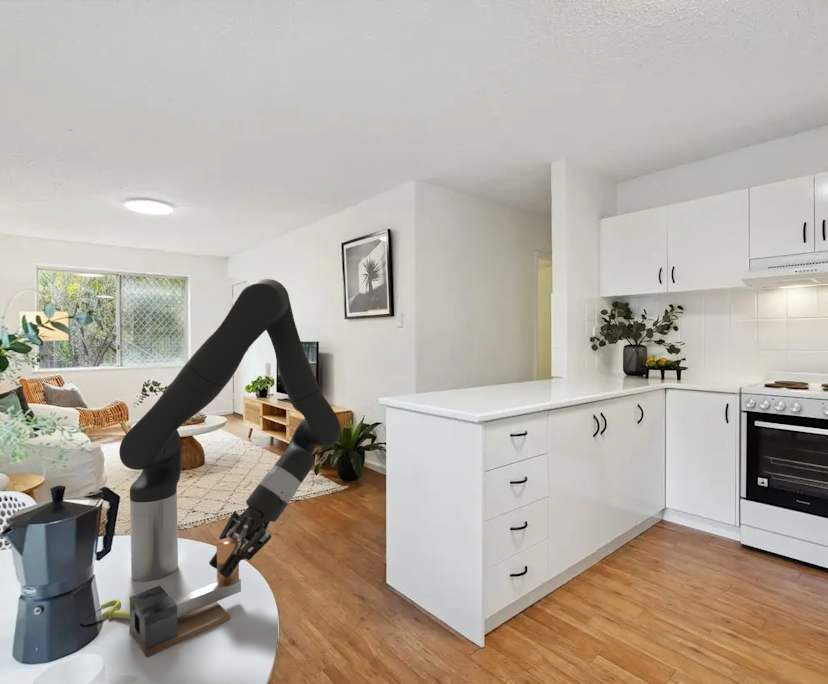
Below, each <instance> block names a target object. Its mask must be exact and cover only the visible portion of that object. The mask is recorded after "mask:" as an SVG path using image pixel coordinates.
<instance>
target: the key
mask: <svg viewBox="0 0 828 684" xmlns="http://www.w3.org/2000/svg"><path fill="white" fill-rule="evenodd" d="M114 604H115V605H114ZM100 605H101V608H102V609H105V608H107V607H109V606H111V607H110V608H108V609H107V610H105V611H103V612H101V614H102V618H103V620H102V621H104V620H105V619H108V618H109V619H110V620H112V619H114V618H116V619H117V618H118V619H127V620H130V610H120V608H121V607H122V602H121V599H119V598H115V599H112V600H109V601H106V602H104V603H102V604H100ZM109 619H108V620H109Z"/></svg>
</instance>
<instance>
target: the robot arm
mask: <svg viewBox="0 0 828 684" xmlns="http://www.w3.org/2000/svg"><path fill="white" fill-rule="evenodd" d="M289 296H290V295H289V292H288V290H287V289H286V287H285V286H284V285H283V284H282V283H280V282H279V281H278V280H274V279H271V278H264V279H259V280H257V281H254V282H251V283H249V284H248V285H246V286H245V287H244V288H243V289H242V290H241V292H240V293H239V295H238V297H237V298H236V300H235V301H234V304H233V305H232V306H231V309H230V310H229V311H228V313H227V315H226V316H225V318H224V320H223V321H222V322H221V324H220V325H219V326H218V328H216V330H215V331H214V332H213V333H212V334H211V335H210V336H209V337H208V338H207V339H206V340H205V341H204V342H203V343H202V344H201V346H200V347H199V348H198V349H197V351H196V352H195V353H194V354H192V356H190V359H188V360H187V362H186V363H185V365H184V366H183V367H182V368H181V369H180V371H179V373H177V375H176V376H175V378H174V379H173V380H172V382H171V383H169V385H168V387H167V388H166V389H165V390H164V392H163V393H162V394H161V395H160V396H159V398H158V400H157V401H156V402H155V403H154V404H153V405H152V407H151V408H150V409H149V410H148V411H147V412H146V413H145V414H144V415H143V416H142V417H141V418H140V419H139V421H137V422H136V423H135V424H134V425H133V426H132V427H131V428H130V429H129V430H128V431H127V432H126V434H125V435H124V437H123V438H122V440H121V442H120V445H119V453H118V454H119V459H120V461H121V463H122V464H123V465H124V466H125V467H127V468H128V469H130V470H135V471H136V470H137V471H141V472H140V475H139V476H138V478H137V479H136V480H135V481H134V482H133V483H132V484H131V486H130V488H129V513H130V514H129V516H130V519H129V520H130V521H129V522H130V523H129V524H130V563H131V564H130V569H131V572H130V573H131V578H132V580H135V581H138V582H139V581H142V582H146V581H147V582H148V581H154V580H158V579H161V578H164V577H166V576H168V575H171V574H172V573H174V572H175V571H176V570H177V569H178V568H179V550H178V549H179V545H178V544H179V541H178V539H179V538H178V537H179V536H178V497H177V496H178V495H177V491H178V490H177V489H178V486H177V485H178V483H179V482H180V481H179V480H180V478H181V473H182V472H181V467H182V465H181V464H182V440H181V436H180V433H179V431H178V430H179V428H180V427H181V426H183V425H184V423H186V422H187V421H189V420H190V419H191V418H193V417H194V416H195V415H197V414H198V413H199V412H200V411H202V410H203V409H204V408H205V407H207V406H208V405H209V404H211V403H212V401H214V400H215V399H216V397H217V396H219V395H220V394H221V392H222V391H223V389H224V388H225V387H226V386H227V384H228V383H229V382H230V381H231V379H232V378H233V377H234V374H235V373H236V372H237V370H238V368H239V366H240V364H241V363H242V360H243V358H244V357H245V355H246V353H247V351H248V350H249V349H250V348H251V346H252V345H253V344H254V342H255V341H257V339H259V337H261V335H263V333H264V332H265V331H266V332H267V334H268V336H269V339H270V341H271V344H272V347H273V349H274V354H275V359H276V364H277V368H278V372H279V375H280V379H281V382H282V384H283V387H284V389H285V393H286V394H287V397H288V399H289V402H290V404H291V405H292V407H293V408H294V409H295V411H297V412H298V413H300V414H302V415H303V419H302V420H300V422H299V424H298V425H297V426H296V429H294V432H293V434H292V437H291V438H290V440H289V443H288V446H287V448H286V450H285V451H284V452H283V453H282V454H281V456H280V457H279V459H278V460H277V461H276V462H275V463H274V465H273V466H272V467H271V469H270V470H268V471H267V473H266V474H265V475H264V477H263V478H262V479H261V481H260V482H259V483H258V484H257V486H256V487H255V488H254V490H253V491H252V492H251V494H250V495H249V496H248V498H247V499H246V501H245V504H246V505H247V508H246V509H245V510H244V511H243V512H242V513H241V514H238V513H237V512H236V511H235V512H233V513H232V514H231V516H230V518H229V519H228V521H227V523H226V524H225V527H224V529H223V530H222V532H221V534H220V536H219V538H218V539H219V540H221V539H224V538H230V537H233V538H237V541H238V544H237V545H236V547H235V549H234V551H233V554H231V555H230V556H229V557H228V559H227V560H226V562H225V563H224V564H223V566H222V567H221V568H220V570H219V573H220V574H221V575H223V576H225V577H229V576H230V574H231V573H232V572H233V571H234V569H235V568H236V566H237V565H238V564H239V565H240V563H241V561H244V560H248V561H250V560H251V559H253V558H254V556H255V555H257V553H259V552H260V551H261V549H262V548H263V547H264V546H265V545H266V544H267V543H268V542H269V541H270V540H271V539H272V534H270V533H269V532H268V531H267V529H268V527H269V525H270V523H271V522H272V523H276V522H277V521H278V519H279V518H280V516H281V515H282V514H283V512H284V511H285V509H286V508H287V506H288V505H289V503H290V502H291V501H292V499H293V498H294V496H295V494H296V493H297V491H298V489H299V488H300V486H301V485H302V483H303V482H304V480H305V479H306V477H307V476H308V474H309V473H310V472H311V470H312V468H313V467H314V464H315V460H314V457H313V453H314V451H315V449H316V448H317V446H319V447H322V448H328V447H329V448H330V447H332V446H334V445H335V444H336V443H338V441H339V440H340V437H341V433H342V427H341V423H340V420H339V417H338V416H337V414H336V411H334V410H333V407H332V406H331V404H330V403H329V402H328V400H327V398H325V396H324V395H323V393H322V390H321V388H320V386H319V383H318V380H317V378H316V376H315V373H314V370H313V368H312V366H311V364H310V361H309V359H308V357H307V355H306V352H305V349H304V347H303V343H302V342H301V339H300V336H299V333H298V328H297V326H296V322H295V318H294V314H293V309H292V306H291V299H290V297H289ZM208 564H209V565H210V566H211V567H213V568H214V569H216V570H217V551H216V553H215V554H214V555H213V556H212V557H211V559H210V560H209V563H208Z"/></svg>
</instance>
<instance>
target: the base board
mask: <svg viewBox="0 0 828 684" xmlns="http://www.w3.org/2000/svg"><path fill="white" fill-rule="evenodd" d="M230 620H231V614H230V613H229V612H228V611H227V610H226V609H225V608H224V607H223V606H222V605H221V604H219V603H218V601H217V602H214V603H212V604H210V605H207V606H205V607H202V608H200V609H198V610H195V611H193V612H190V613H188V614H186V615H183V616H181V617H178V618H177V637H175V638H172V639H170V640H168V641H166V642H163V643H161V644H159V645H157V646H154V647H152V648H150V649H147V650H145V649H144V647H143V646H142V644H141V643H140V641H139V640H138V638H137V636H136V635H135V633H134V632H133V630H132V629H131V627H130V624H129V625H128V627H129V628H128V629H129V632H130V635H131V636H132V637H133V639H134V641H135V642H136V643H137V645H138V647H139V648H140V649H141V651H142V653H143V655H144V656H145V658H146V659H147V658H149V657H151V656H154V655H156V654H158V653H160V652H162V651H164V650H167V649H169V648H171V647H173V646H175V645H178V644H180V643H182V642H184V641H186V640H189V639H191V638H193V637H195V636H198V635H199V634H202V633H204V632H206V631H208V630H210V629H213V628H215V627H217V626H220V625H222V624H224V623H227V622H229V621H230Z"/></svg>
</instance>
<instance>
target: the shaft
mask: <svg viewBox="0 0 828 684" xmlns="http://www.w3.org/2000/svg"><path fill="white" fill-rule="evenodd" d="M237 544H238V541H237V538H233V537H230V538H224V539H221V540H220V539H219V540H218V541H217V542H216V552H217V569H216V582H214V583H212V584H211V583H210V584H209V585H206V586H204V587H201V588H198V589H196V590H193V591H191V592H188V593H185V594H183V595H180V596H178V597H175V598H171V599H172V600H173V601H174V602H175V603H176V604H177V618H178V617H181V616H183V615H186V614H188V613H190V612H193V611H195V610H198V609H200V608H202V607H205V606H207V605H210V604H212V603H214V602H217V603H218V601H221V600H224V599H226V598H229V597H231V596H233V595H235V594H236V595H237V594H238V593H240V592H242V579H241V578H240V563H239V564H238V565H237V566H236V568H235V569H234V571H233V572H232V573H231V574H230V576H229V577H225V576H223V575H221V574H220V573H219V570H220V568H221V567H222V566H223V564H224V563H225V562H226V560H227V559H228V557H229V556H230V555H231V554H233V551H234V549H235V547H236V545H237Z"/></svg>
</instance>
